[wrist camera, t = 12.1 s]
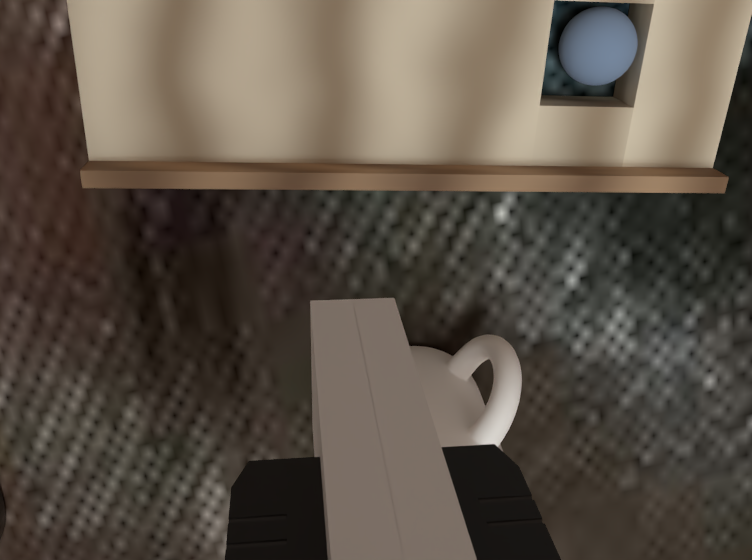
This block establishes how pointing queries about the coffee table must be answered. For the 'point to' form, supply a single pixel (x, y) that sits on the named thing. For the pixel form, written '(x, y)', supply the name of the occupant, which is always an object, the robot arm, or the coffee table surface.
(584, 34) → the ball
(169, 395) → the coffee table surface
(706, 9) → the tray
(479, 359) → the mug
